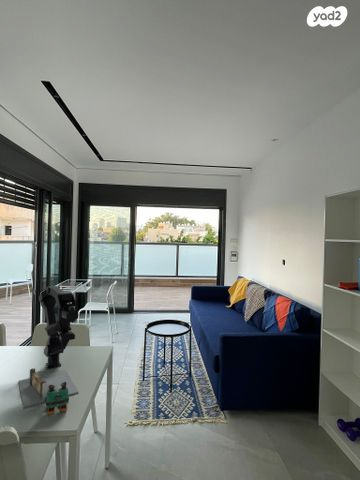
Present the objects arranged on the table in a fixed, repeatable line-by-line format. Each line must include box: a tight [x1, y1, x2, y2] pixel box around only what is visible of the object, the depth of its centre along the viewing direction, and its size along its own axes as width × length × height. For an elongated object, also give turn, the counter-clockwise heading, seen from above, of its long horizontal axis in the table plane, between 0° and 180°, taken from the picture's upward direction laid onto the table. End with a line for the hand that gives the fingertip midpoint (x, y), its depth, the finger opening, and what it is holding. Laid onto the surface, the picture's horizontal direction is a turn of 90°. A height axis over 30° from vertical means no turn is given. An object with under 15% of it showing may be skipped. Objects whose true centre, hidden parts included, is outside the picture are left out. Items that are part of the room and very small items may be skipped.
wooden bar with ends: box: [29, 368, 46, 398], centre depth 127 cm, size 16×2×6 cm, turn 44°
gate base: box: [18, 369, 79, 409], centre depth 131 cm, size 24×21×7 cm
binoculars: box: [45, 382, 70, 416], centre depth 116 cm, size 9×11×10 cm
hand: (63, 349), depth 142 cm, fingers closed
